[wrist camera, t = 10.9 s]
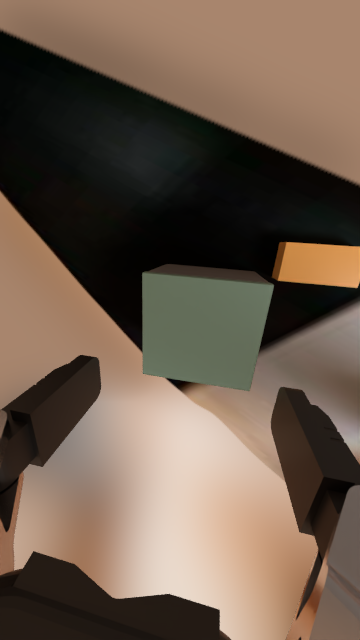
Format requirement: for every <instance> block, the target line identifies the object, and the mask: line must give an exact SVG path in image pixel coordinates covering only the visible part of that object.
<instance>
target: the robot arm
mask: <svg viewBox="0 0 360 640" xmlns="http://www.w3.org/2000/svg"><path fill="white" fill-rule="evenodd" d="M100 390H101V379H100V367H99V360H98V358H97V357H91V356H84V355H80V356H78V357H77V358H75V359H74V360H73V361H71V362H70V363H69V364H66V365H64V366H62V367H59V368H57V369H55V370H53V371H52V372H51V373H49V374H48V375H47V376H45V378H43V379H41V380H40V381H39V382H37V384H36V385H33V386H32V387H31V388H29V389H28V390H27V391H25V392H24V393H23V394H21V395H20V396H19V397H17V398H16V399H15V400H13V401H12V402H11V403H9V404H8V405H7V406H6V407H4V408H3V409H1V410H0V640H231V639H230V638H229V637H228V636H227V635H225V634H224V633H223V632H222V631H220V629H219V626H220V624H219V623H220V620H219V619H220V611H219V610H218V609H215V608H212V607H209V606H206V605H202V604H199V603H196V602H193V601H190V600H186V599H183V598H180V597H177V596H174V595H170V594H165V595H154V596H145V597H134V598H124V599H115V598H112V597H111V596H110V595H108V594H107V593H106V592H105V591H104V590H103V589H102V588H100V587H99V586H98V585H97V584H96V583H95V582H94V581H93V580H92V579H91V578H89V577H88V576H87V575H86V574H85V573H84V572H83V571H81V569H79V568H78V567H77V566H76V565H75V564H72V563H69V562H66V561H63V560H59V559H56V558H53V557H50V556H47V555H43V554H40V553H37V552H34V551H33V553H32V555H31V556H30V558H29V560H28V561H27V563H26V565H25V566H24V568H23V569H19V570H15V571H14V550H13V549H14V548H13V544H14V543H13V542H14V533H15V527H16V521H17V515H18V509H19V503H20V497H21V491H22V485H23V479H24V474H23V471H24V469H25V468H26V467H27V466H28V465H29V464H32V465H37V466H41V467H43V466H44V464H45V463H46V462H47V461H48V459H49V458H50V457H51V455H52V454H53V453H54V452H55V451H56V449H57V448H58V447H59V446H60V444H61V443H62V442H63V441H64V439H65V438H66V437H67V436H68V434H69V433H70V432H71V431H72V429H73V428H74V427H75V426H76V424H77V423H78V422H79V421H80V419H81V418H82V417H83V416H84V414H85V413H86V412H87V411H88V409H89V408H90V407H91V406H92V404H93V403H94V402H95V401H96V399H97V398H98V396H99V394H100ZM271 430H272V435H273V438H274V442H275V445H276V449H277V453H278V456H279V460H280V463H281V467H282V471H283V474H284V478H285V482H286V485H287V489H288V492H289V496H290V500H291V503H292V507H293V510H294V514H295V518H296V521H297V525H298V528H299V532H301V533H305V534H309V535H313V536H315V539H316V543H317V546H318V551H317V553H316V555H315V558H314V561H313V564H312V567H311V570H310V573H309V575H308V578H307V581H306V584H305V587H304V590H303V593H302V596H301V598H300V601H299V604H298V607H297V610H296V613H295V616H294V619H293V622H292V624H291V627H290V630H289V632H288V635H287V637H286V639H285V640H360V465H359V463H358V462H357V460H356V458H355V457H354V455H353V454H352V452H351V451H350V449H349V447H348V446H347V444H346V443H344V440H343V438H342V436H341V435H340V433H339V432H337V429H336V427H335V425H334V424H333V422H332V421H331V419H330V418H329V416H328V415H326V414H325V413H324V412H323V411H322V410H321V409H320V408H319V407H318V406H316V405H311V404H310V402H309V400H308V399H307V397H306V395H305V393H304V392H303V391H302V390H298V389H292V388H285V387H281V388H280V389H279V392H278V395H277V399H276V403H275V406H274V410H273V414H272V418H271Z"/></svg>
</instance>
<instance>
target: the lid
mask: <svg viewBox="0 0 360 640" xmlns="http://www.w3.org/2000/svg"><path fill="white" fill-rule="evenodd" d="M273 287H274V285H273V284H272V283H263V282H252V281H241V280H231V279H220V278H209V277H198V276H188V275H177V274H166V273H155V272H143V273H142V299H143V374H147V375H153V376H159V377H165V378H171V379H177V380H183V381H190V382H196V383H202V384H208V385H214V386H220V387H227V388H233V389H239V390H245V391H250V387H251V383H252V378H253V374H254V370H255V365H256V361H257V357H258V352H259V348H260V344H261V339H262V335H263V331H264V326H265V322H266V318H267V313H268V309H269V305H270V300H271V296H272V292H273Z"/></svg>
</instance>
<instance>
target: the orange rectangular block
mask: <svg viewBox="0 0 360 640" xmlns="http://www.w3.org/2000/svg"><path fill="white" fill-rule="evenodd" d="M272 277H273V278H274V279H276V280H278V281H288V282H299V283H310V284H321V285H332V286H343V287H354V288H358V285H359V282H360V247H353V246H338V245H323V244H308V243H293V242H280V243H279V247H278V252H277V257H276V261H275V266H274V270H273V275H272Z"/></svg>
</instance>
